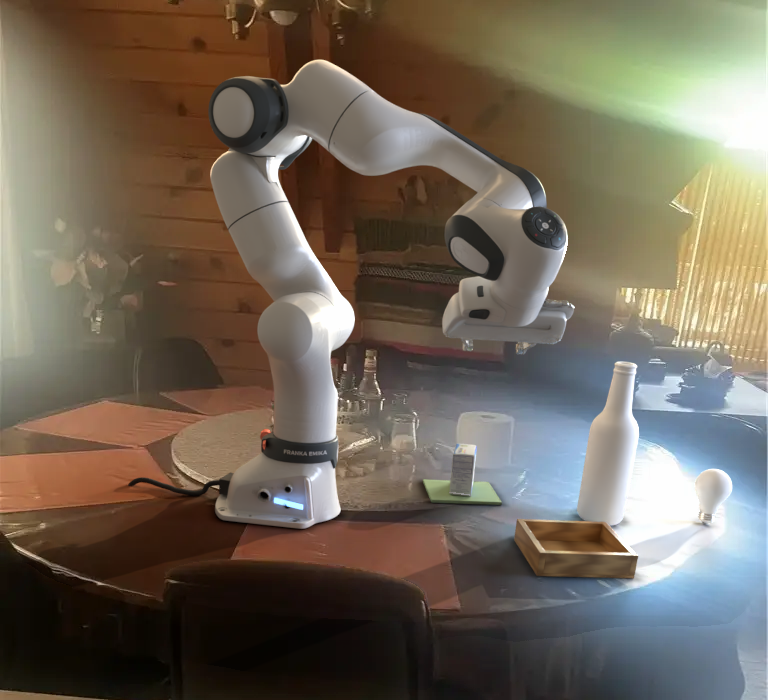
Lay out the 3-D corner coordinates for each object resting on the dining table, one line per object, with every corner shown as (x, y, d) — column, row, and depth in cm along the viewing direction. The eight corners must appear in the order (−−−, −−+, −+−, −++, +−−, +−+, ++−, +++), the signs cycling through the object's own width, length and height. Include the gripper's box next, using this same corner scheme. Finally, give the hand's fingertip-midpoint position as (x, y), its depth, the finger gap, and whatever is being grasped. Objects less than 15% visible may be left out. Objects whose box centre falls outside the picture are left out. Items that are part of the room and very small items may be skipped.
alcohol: (590, 506, 151) (615, 357, 142) (631, 519, 146) (659, 365, 137) (567, 515, 145) (592, 360, 136) (609, 530, 140) (638, 369, 130)
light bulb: (729, 525, 147) (742, 472, 143) (712, 532, 142) (725, 477, 139) (697, 514, 151) (709, 462, 148) (680, 520, 147) (691, 467, 144)
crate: (536, 576, 119) (540, 552, 117) (514, 539, 132) (516, 518, 131) (634, 578, 120) (638, 555, 119) (602, 542, 134) (605, 521, 132)
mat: (431, 502, 147) (431, 499, 146) (422, 481, 158) (422, 479, 158) (501, 505, 148) (502, 502, 148) (488, 484, 160) (488, 481, 159)
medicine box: (470, 497, 149) (475, 455, 147) (448, 494, 150) (452, 453, 147) (472, 485, 157) (477, 444, 154) (451, 482, 157) (455, 442, 155)
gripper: (575, 287, 122) (548, 338, 134) (451, 278, 120) (435, 331, 132) (580, 318, 119) (552, 367, 132) (453, 310, 117) (437, 361, 129)
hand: (493, 349), depth 132 cm, fingers open, 8 cm apart
